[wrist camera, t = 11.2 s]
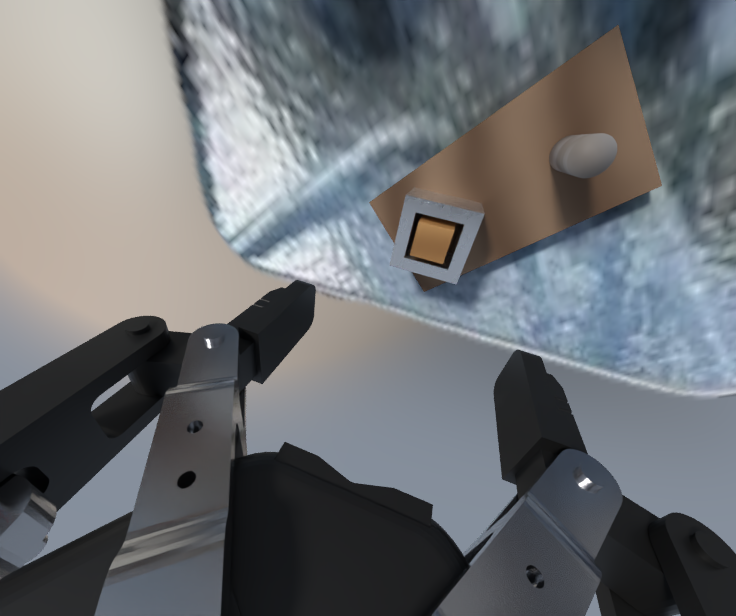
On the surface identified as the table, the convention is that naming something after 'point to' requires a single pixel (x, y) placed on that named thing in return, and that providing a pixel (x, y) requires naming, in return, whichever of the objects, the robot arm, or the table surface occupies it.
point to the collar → (441, 208)
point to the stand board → (537, 161)
